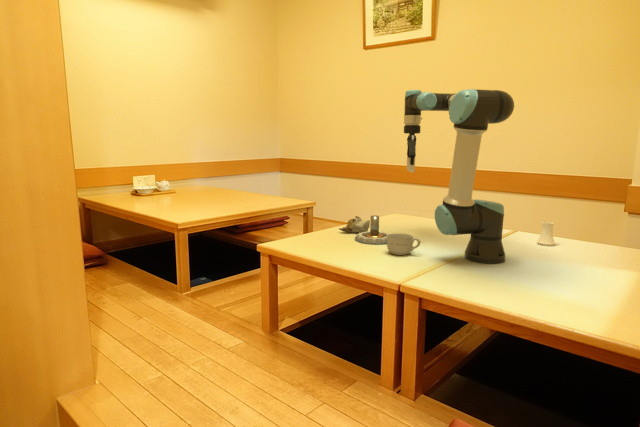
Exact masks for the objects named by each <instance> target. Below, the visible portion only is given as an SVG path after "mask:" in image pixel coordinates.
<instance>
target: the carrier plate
mask: <svg viewBox="0 0 640 427" xmlns="http://www.w3.org/2000/svg"><path fill="white" fill-rule="evenodd" d="M368 233H370V231H367V232H358V233H355V234H356V235H355V237H354V240H355V241H356V243H360V244H363V245H371V246H373V245H375V246H376V245H378V246H380V245H387V234H389V233H388V232H384V231H379V233H380V234H382V235H384V237H383V238H369V237H365V234H368Z"/></svg>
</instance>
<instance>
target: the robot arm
mask: <svg viewBox="0 0 640 427" xmlns="http://www.w3.org/2000/svg"><path fill="white" fill-rule="evenodd" d="M514 109H515V101H514V99H513V97H512V96H511V94H509V93H508V92H506V91H504V90H500V89H475V88H470V89H469V88H468V89H462V90H459V91H457V93H456V92H455V93H443V92H442V93H439V92H429V91H424V92H422V90H421V89H409V90H406V91H405V95H404V116H403V125H404V126H403V133H404V134H408V136H407V139H406V141H407V145H406V146H407V149H406V150H407V152H406V156H407V157H406V170H407V171H408V173H415V171H416V169H415V168H416V156H417V155H416V152H417V151H416V150H417V149H416V148H417V147H416V145H417V136H416V134H421V125H420V124H421V122H422V121H421V120H423V117H421V115H422V112H423V111H425V112H428V111H430V112H432V111H433V112H435V111H436V112H448V115H449V117H448V118H449V120H450V122H451V123H452V124H453V129H454V131H456V137H455V144H454V150H453V151H454V152H453V158H452V164H451V171H450V177H449V185H448V191H447V195H445V197H443V198H442V204H439V205H437V206H436V208H435V210H434V222H435V224H436V225H435V226H436V227H437V229H438V230H439V232H440V233H442V235H445V236H460V235H470V237H469V238H470V239H469V240H468V243H467V246H466V248H465V250H464V258H465V259H466V260H469V261H471V262H475V263H482V264H500V263H504V262H505V261H506V252H505V248H504V245H503V241H502V240H503V226H504V217H505V207H504V205H503V204H502V203H499V202H497V201H490V200H483V199H472V197H473V196H472V195H473V189H474V183H475V178H476V172H477V166H478V160H479V154H480V149H481V143H482V138H483V134H484V133H485V132H487V131H488V127H489V124H490V125H491V124H499V123H503V122H505V121H507V120H508V119H509V118H510V117H511V115H512V114H513V113H514Z"/></svg>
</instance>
